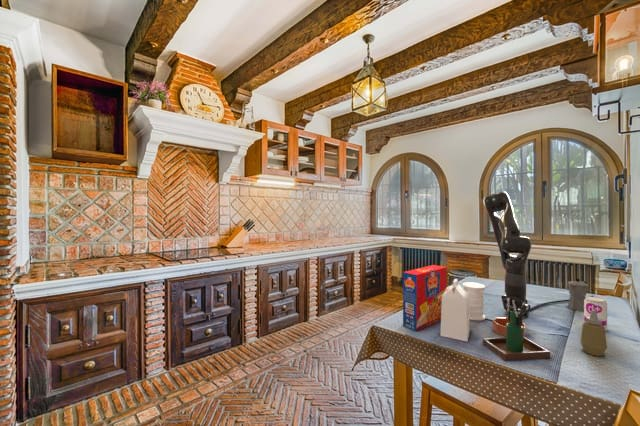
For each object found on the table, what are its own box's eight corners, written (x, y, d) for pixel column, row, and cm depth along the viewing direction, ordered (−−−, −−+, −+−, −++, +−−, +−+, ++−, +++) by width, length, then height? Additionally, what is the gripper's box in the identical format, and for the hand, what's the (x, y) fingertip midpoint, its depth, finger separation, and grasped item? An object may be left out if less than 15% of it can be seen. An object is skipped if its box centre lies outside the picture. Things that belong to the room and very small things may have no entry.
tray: (523, 341, 129) (523, 336, 129) (550, 358, 115) (550, 351, 115) (482, 344, 127) (482, 338, 127) (504, 360, 114) (504, 354, 114)
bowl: (511, 326, 145) (511, 316, 145) (532, 338, 132) (532, 327, 132) (486, 327, 144) (486, 317, 144) (505, 339, 131) (506, 329, 131)
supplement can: (602, 333, 137) (603, 302, 136) (580, 327, 144) (581, 297, 144) (609, 330, 140) (610, 299, 140) (588, 323, 148) (588, 295, 147)
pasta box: (416, 331, 141) (416, 275, 140) (403, 325, 147) (403, 272, 147) (446, 317, 158) (446, 267, 157) (433, 312, 164) (433, 264, 164)
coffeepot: (580, 313, 162) (581, 281, 162) (561, 307, 171) (562, 277, 171) (595, 309, 168) (596, 278, 168) (576, 303, 177) (576, 275, 177)
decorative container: (488, 322, 151) (489, 288, 150) (465, 320, 153) (465, 287, 153) (480, 314, 162) (481, 282, 162) (459, 312, 165) (459, 281, 164)
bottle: (515, 345, 125) (516, 309, 124) (526, 352, 119) (527, 314, 118) (502, 346, 124) (503, 309, 124) (513, 353, 118) (513, 315, 118)
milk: (467, 341, 130) (467, 285, 129) (440, 335, 136) (440, 281, 135) (469, 331, 140) (470, 279, 139) (444, 326, 146) (444, 276, 145)
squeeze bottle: (574, 348, 123) (575, 307, 122) (592, 347, 124) (592, 306, 123) (594, 358, 115) (595, 314, 114) (612, 357, 115) (613, 313, 115)
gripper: (537, 287, 114) (537, 330, 114) (511, 278, 128) (510, 316, 129) (520, 288, 113) (519, 331, 114) (495, 279, 127) (494, 317, 128)
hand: (514, 323), depth 121 cm, fingers closed on bottle, 3 cm apart
